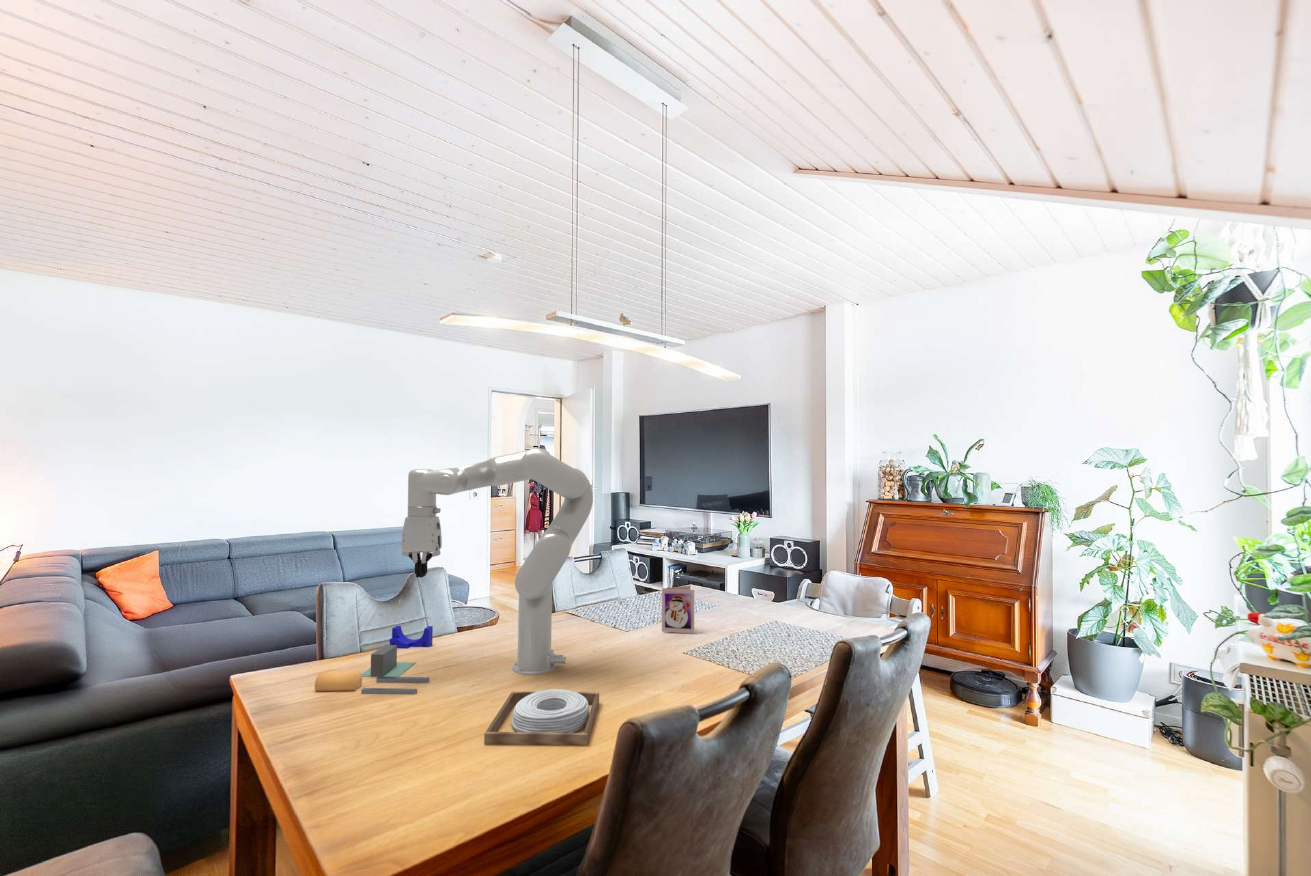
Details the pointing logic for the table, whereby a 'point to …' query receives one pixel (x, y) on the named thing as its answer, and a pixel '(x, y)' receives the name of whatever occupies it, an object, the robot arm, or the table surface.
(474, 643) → the table surface
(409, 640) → the cable clip
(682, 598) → the greeting card
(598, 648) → the table surface
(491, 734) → the cable tray
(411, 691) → the channel
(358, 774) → the table surface
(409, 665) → the pad
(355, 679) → the tan cylinder
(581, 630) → the table surface
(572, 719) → the cable
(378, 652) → the block
